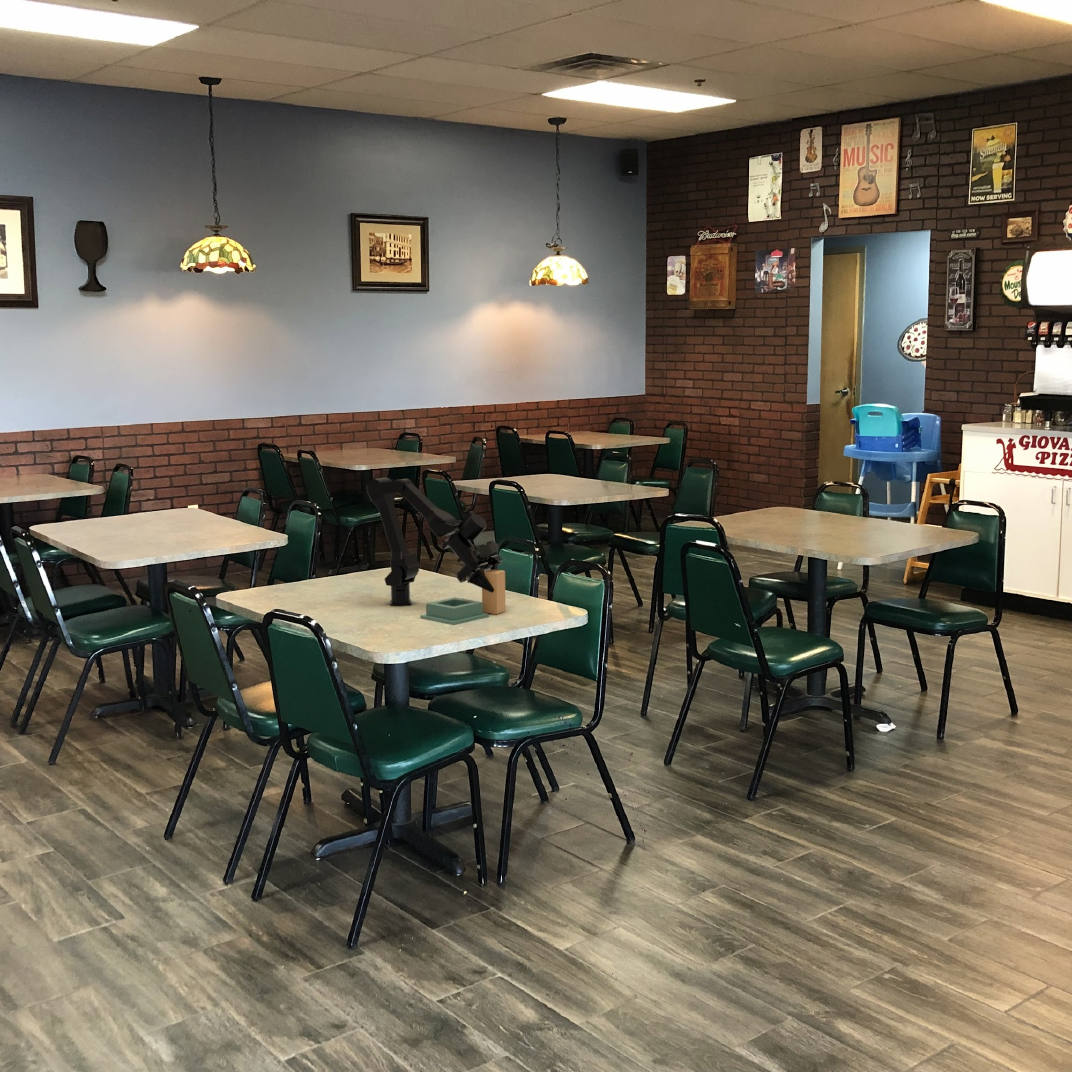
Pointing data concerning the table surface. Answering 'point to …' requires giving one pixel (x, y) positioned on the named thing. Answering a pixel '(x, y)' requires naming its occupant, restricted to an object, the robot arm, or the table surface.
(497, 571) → the plug
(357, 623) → the table surface
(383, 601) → the table surface
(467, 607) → the socket housing
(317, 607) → the table surface
